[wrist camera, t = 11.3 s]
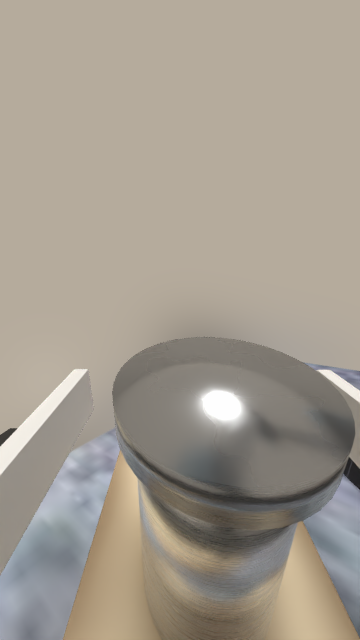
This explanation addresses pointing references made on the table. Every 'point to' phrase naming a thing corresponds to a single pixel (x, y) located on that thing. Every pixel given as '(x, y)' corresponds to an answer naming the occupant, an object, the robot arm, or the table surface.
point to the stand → (129, 591)
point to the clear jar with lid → (225, 476)
